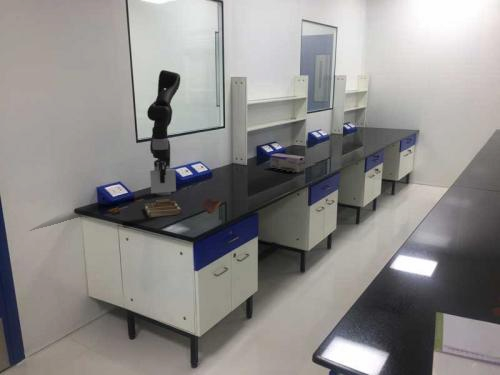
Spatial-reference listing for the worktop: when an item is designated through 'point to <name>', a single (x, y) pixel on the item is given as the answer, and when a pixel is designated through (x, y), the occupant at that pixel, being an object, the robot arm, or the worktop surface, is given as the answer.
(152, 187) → the pvc sheet
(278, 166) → the surgical sutures box
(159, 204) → the offcut upper
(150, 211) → the rack
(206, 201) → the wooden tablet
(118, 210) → the decorative fence
